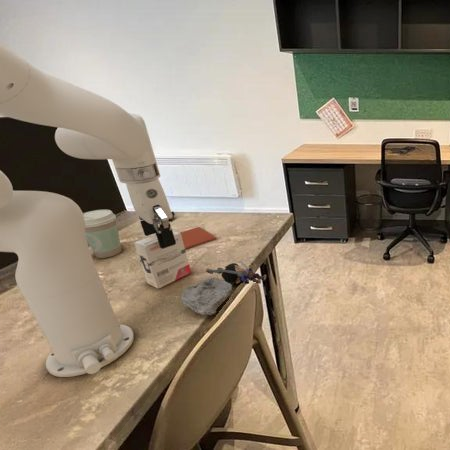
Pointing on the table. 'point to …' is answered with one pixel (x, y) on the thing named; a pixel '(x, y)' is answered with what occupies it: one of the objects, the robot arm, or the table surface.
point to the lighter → (172, 215)
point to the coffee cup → (102, 233)
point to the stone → (206, 295)
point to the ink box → (162, 260)
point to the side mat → (195, 237)
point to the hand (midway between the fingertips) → (160, 239)
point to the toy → (238, 274)
